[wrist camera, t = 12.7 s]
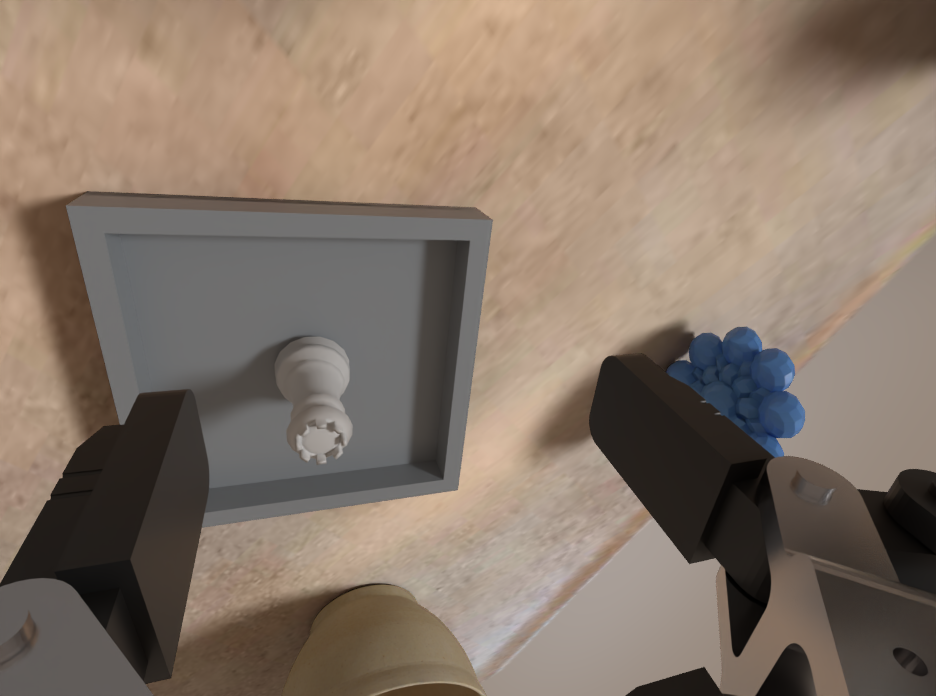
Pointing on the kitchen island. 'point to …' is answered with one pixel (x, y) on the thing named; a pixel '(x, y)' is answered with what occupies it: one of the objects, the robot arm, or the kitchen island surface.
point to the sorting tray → (292, 333)
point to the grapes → (744, 384)
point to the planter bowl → (380, 650)
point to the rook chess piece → (315, 397)
